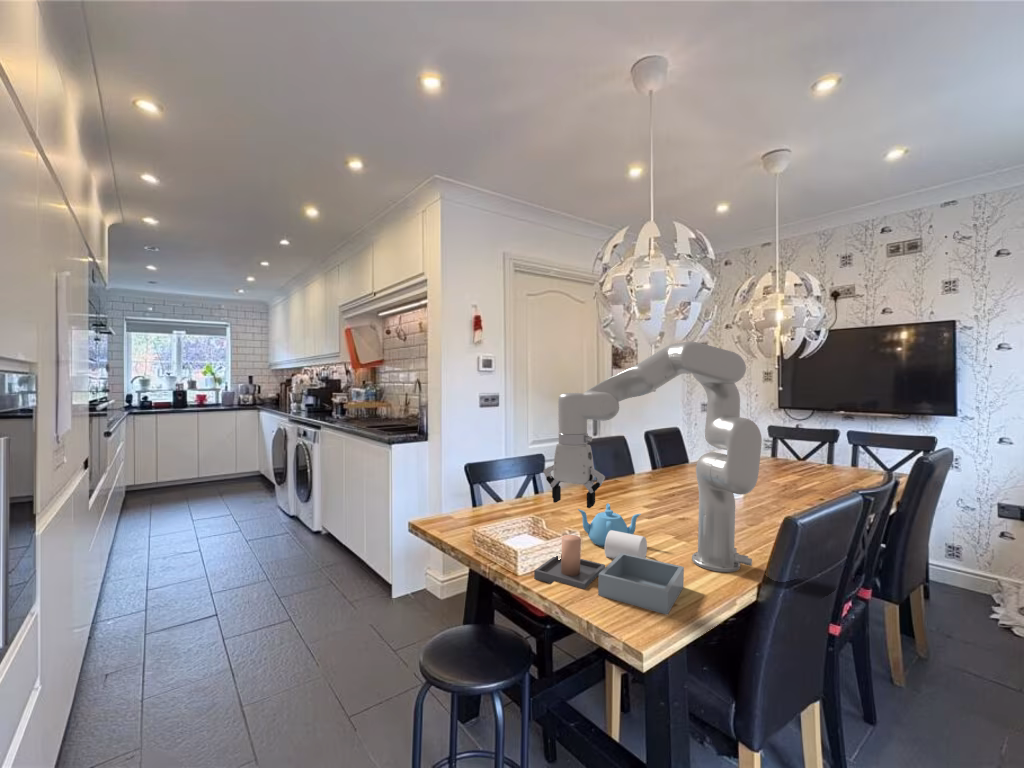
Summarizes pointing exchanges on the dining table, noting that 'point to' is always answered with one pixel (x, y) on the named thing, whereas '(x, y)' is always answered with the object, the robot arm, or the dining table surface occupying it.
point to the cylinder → (570, 555)
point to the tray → (553, 573)
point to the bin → (642, 582)
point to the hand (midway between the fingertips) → (573, 504)
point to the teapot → (606, 525)
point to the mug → (625, 544)
